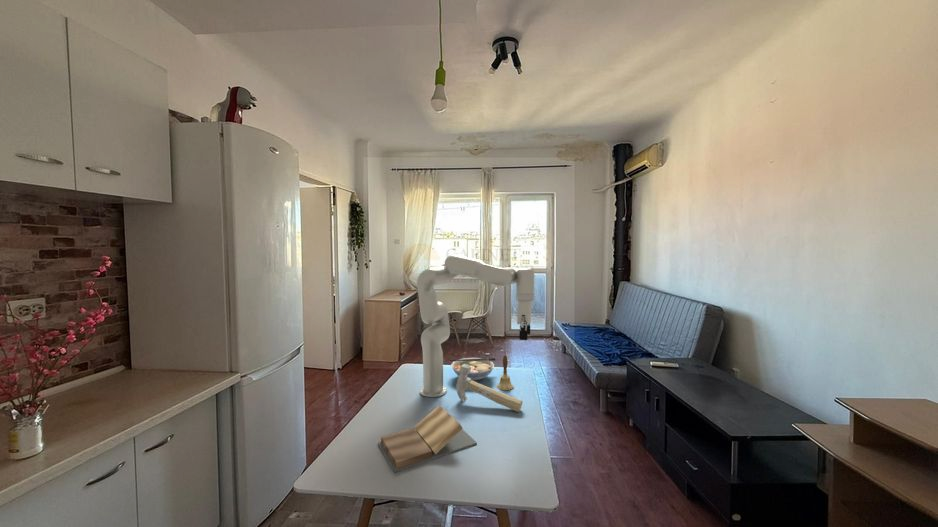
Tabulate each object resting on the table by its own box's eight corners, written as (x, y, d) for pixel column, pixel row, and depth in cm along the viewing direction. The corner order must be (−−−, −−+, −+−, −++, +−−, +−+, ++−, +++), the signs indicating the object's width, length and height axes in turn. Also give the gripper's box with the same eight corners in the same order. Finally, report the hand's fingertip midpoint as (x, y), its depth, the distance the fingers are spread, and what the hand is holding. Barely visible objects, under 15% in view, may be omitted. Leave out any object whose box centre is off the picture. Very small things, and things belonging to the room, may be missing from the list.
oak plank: (416, 431, 130) (413, 427, 129) (441, 408, 135) (439, 404, 134) (435, 454, 115) (432, 450, 114) (462, 428, 120) (460, 424, 119)
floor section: (378, 444, 123) (377, 436, 123) (453, 421, 138) (453, 415, 138) (394, 472, 107) (394, 464, 107) (476, 444, 122) (476, 437, 122)
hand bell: (493, 386, 173) (493, 354, 172) (505, 382, 178) (505, 351, 177) (504, 392, 166) (504, 359, 165) (517, 387, 171) (517, 355, 170)
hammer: (526, 387, 147) (464, 362, 159) (523, 392, 143) (459, 366, 155) (518, 421, 149) (457, 394, 161) (514, 426, 145) (452, 398, 157)
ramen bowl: (448, 387, 172) (448, 371, 171) (449, 370, 194) (449, 356, 194) (498, 386, 172) (498, 370, 172) (494, 370, 195) (494, 355, 195)
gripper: (519, 294, 157) (519, 331, 158) (512, 299, 141) (512, 341, 142) (536, 294, 155) (536, 332, 156) (531, 300, 139) (531, 342, 139)
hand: (525, 336), depth 149 cm, fingers open, 9 cm apart
